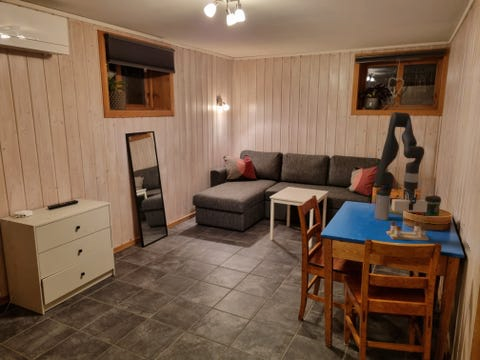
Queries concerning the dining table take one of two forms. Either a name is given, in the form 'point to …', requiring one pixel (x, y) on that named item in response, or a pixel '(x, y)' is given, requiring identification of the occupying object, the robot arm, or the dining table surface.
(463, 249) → the dining table surface
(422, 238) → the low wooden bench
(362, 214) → the dining table surface
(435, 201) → the coffee jar
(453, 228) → the dining table surface
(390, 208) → the decorative tile
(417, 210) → the beige long block
